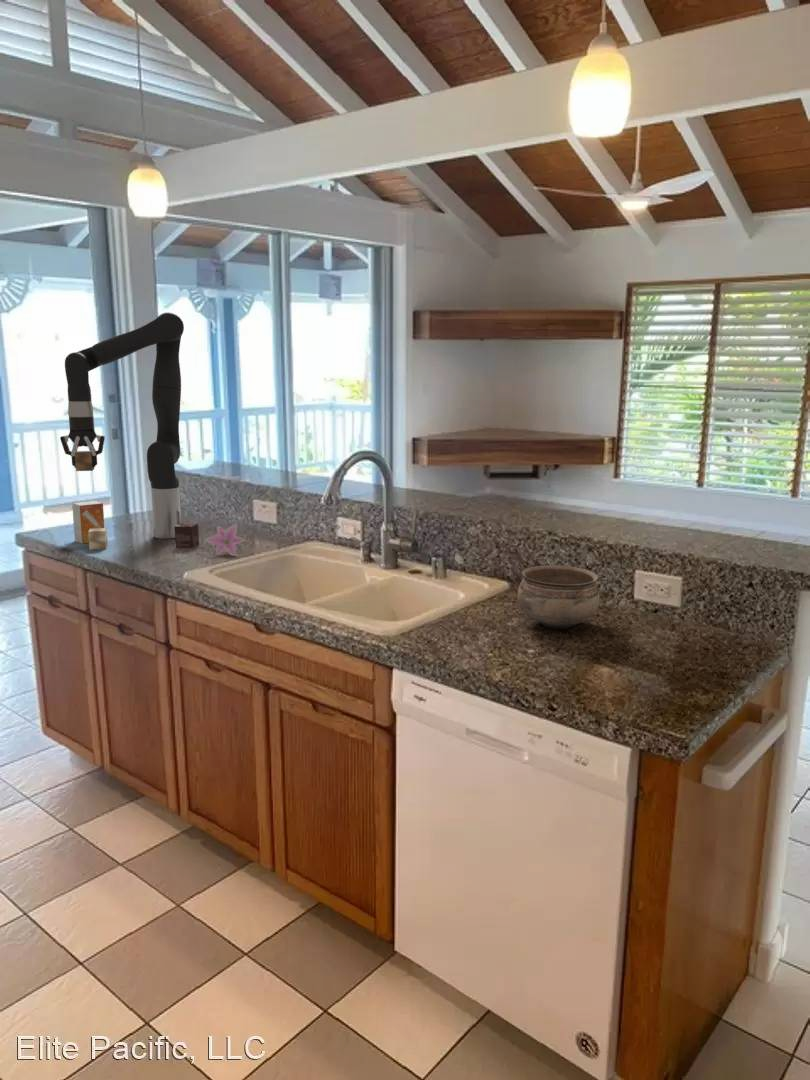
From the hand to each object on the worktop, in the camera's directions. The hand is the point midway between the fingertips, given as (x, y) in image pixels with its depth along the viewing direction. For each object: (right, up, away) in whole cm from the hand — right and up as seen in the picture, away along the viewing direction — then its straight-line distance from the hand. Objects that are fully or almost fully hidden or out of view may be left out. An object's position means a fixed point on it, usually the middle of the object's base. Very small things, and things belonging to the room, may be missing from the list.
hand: (84, 466), depth 265 cm
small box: (0, -25, +5) cm, 25 cm away
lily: (+49, -29, -9) cm, 57 cm away
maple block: (+6, -27, -4) cm, 28 cm away
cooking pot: (+142, -44, -76) cm, 167 cm away
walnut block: (0, -1, 0) cm, 1 cm away
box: (+34, -26, 0) cm, 43 cm away
